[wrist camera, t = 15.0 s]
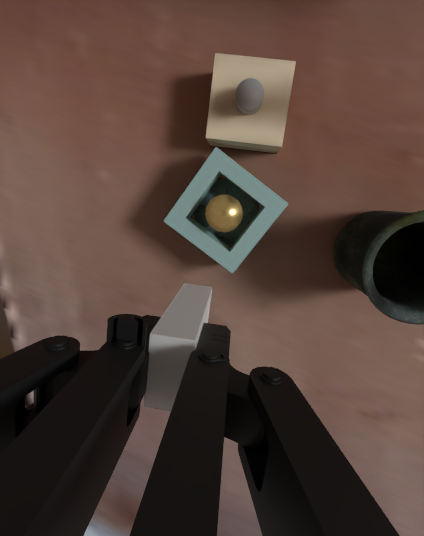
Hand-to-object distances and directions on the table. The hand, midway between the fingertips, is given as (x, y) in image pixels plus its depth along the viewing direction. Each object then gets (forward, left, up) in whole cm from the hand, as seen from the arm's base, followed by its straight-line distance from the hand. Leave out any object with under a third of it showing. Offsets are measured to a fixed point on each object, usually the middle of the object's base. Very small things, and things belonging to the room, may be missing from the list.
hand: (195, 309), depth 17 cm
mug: (-2, +21, -27) cm, 34 cm away
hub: (-4, 0, -26) cm, 27 cm away
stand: (-16, +1, -26) cm, 31 cm away
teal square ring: (-4, 0, -24) cm, 25 cm away
